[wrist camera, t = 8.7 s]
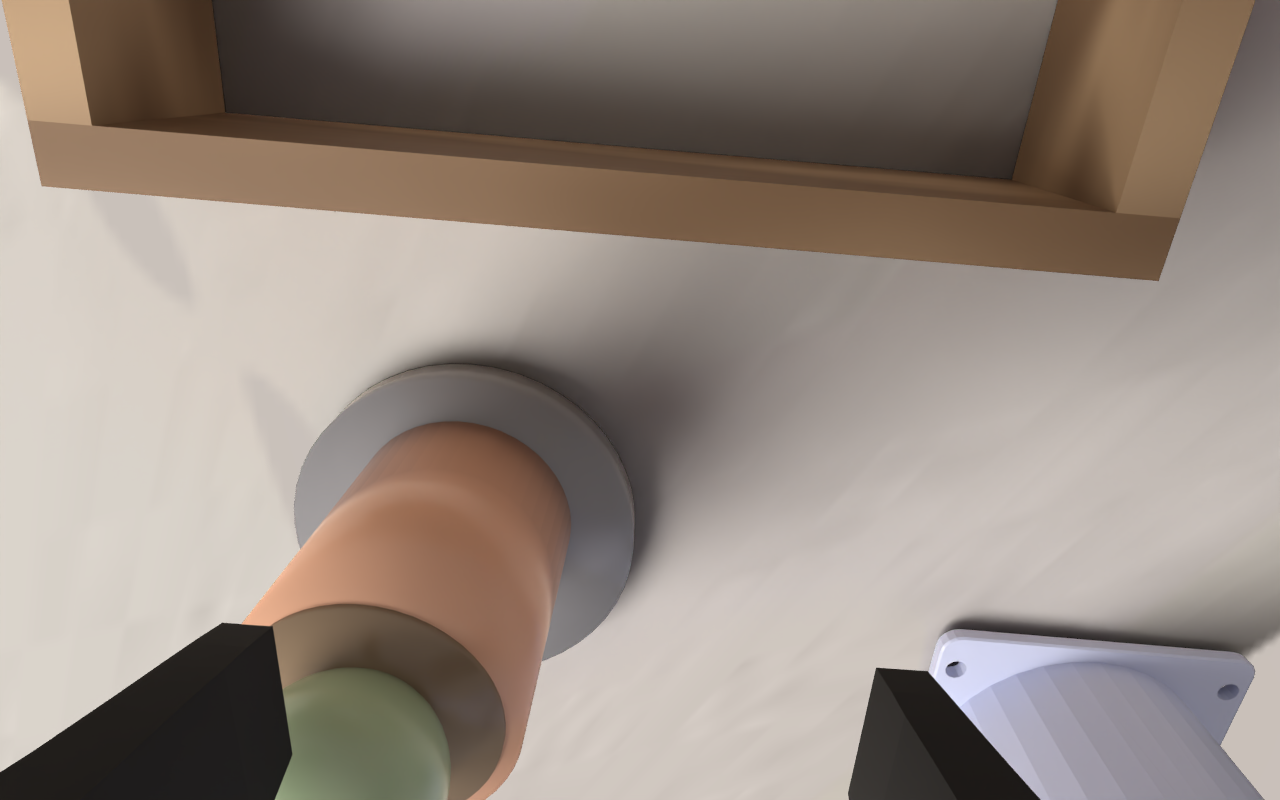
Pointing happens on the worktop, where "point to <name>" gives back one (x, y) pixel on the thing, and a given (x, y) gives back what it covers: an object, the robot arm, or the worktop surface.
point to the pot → (420, 619)
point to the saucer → (531, 419)
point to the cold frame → (650, 178)
